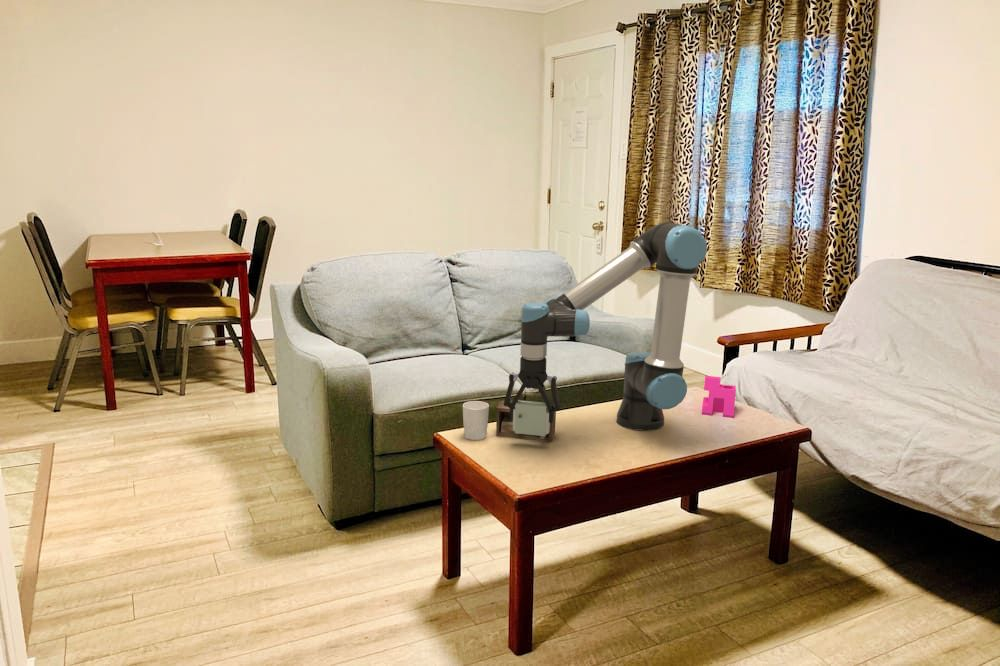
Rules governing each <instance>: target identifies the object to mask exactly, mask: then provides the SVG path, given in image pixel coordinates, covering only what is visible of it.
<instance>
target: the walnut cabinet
mask: <svg viewBox="0 0 1000 666" xmlns="http://www.w3.org/2000/svg"><path fill="white" fill-rule="evenodd" d="M504 401H505V400H501V401H500V403H499V404H498V405H497V407H496V421H495V422H496V426H495V427H496V428H495V429H496V430H495V435H496V437H503V438H513V439H514V438H515V439H523V440H524V439H525V440H535V441H542V442H543V441H544V442H552V441H553V439H554V437H555V434H556V423H557V422H556V418H557V417H556V416H557V411H555V412H554V420H553V422H552V423H550V431H549V433H548V434H546V436H538V435H528V434H518V433H515V431H513V419H510V408H509V407H507V406H504ZM510 402H512V401H511V400H510ZM553 406H554V404H553ZM515 407H516V405H515Z"/></svg>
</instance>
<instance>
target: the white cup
mask: <svg viewBox="0 0 1000 666" xmlns="http://www.w3.org/2000/svg"><path fill="white" fill-rule="evenodd" d="M489 408H490V405H489V403H487V402H485V401H480V400H472V401H471V400H470V401H465V402H464V403H463V404H462V420H463V432H464V433H463V436H464V438H465V439H467V440H470V441H481V440H484V439H486V438H487V435H488V426H489V424H488V423H489V411H490V409H489Z"/></svg>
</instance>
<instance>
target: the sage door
mask: <svg viewBox="0 0 1000 666" xmlns="http://www.w3.org/2000/svg"><path fill="white" fill-rule="evenodd" d="M547 410H548V408H547V406H546V404H545V402H544V401H541V402H540V401H531V400H520V399H519V400H518V401H517V403H516V410H515V433H518V434H528V435H538V436H546V412H547Z"/></svg>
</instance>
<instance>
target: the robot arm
mask: <svg viewBox="0 0 1000 666" xmlns="http://www.w3.org/2000/svg"><path fill="white" fill-rule="evenodd" d="M707 249H708V247H707V241H706V238H705V237H704V235H703V234H702V232H700V231H699V230H698V229H696V228H694V227H692V226H690V225H686V224H681V223H676V222H670V221H667V222H661V223H658V224H656V225H654V226H652V227H650V228H649V229H647V230H646V231H644V232H643V233H642V234H640V235H639V236H637V237H636V238H635V239H633V240H632V241H630V244H629V247H627V248H626V249H625V250H623V251H622V252H621V253H619V254H618V255H616V256H615V257H614V258H612V259H611V260H609V261H608V262H606V263H604V265H602V266H601V267H599V268H598V269H596V270H595V271H593V272H592V273H591V274H589V275H588V276H587V277H585V278H584V279H583V280H581V281H579V282H578V283H576V285H574V286H573V287H570V289H568V290H566V292H564V293H562V294H561V295H559V296H557V297H556V298H550V299H546V300H545V301H544V302H537V301H536V302H527V303H525V304H523V305H522V309H521V318H520V321H521V322H520V323H521V324H520V325H521V326H520V331H521V332H520V334H521V335H520V339H521V340H520V356H521V357H520V358H519V359H520V361H519V364H520V365H519V373H514V372H511V373H510V374H509V375H508V380H509V381H508V382H509V383H508V385H507V386H508V387H507V391H506V394H505V399H504V400H503V401H504V406H507V407H509V408H510V419H513V431H515V410H516V407H515V405H516V403H517V401H518V400H520V398H521V396H522V394H523V393H524V391H525V389H533V390H538V392H539V393H540V395H541V397H542V399H543V403H545V404H546V406H547V408H548V410H547V412H546V434H548V433H549V431H550V423H552V422H553V420H554V412H555V411H556V412H559V411H560V409H561V401H560V398H559V397H560V396H559V392H558V389H557V388H558V386H557V379H558V377H557V376H556V375H554V376H550V375H548V373H547V358H546V357H547V354H548V353H547V352H548V338H549V337H580V336H586V335H587V334H588V333H589V331H590V324H591V323H590V322H591V320H590V315H589V313H588V311H587V310H586V308H588V307H590V306H591V305H592V304H594V303H595V302H597V301H598V300H599V299H600V298H602V297H603V296H605V295H606V294H608V293H609V292H611V291H612V290H613V289H614V290H615V288H616V287H618V286H620V284H622V283H624V282H625V281H626V280H628V279H629V278H631V277H632V276H634V275H635V274H636V273H638V272H640V271H641V270H642V269H644V268H647V269H649V268H650V267H652V266H654V265H655V264H656V267H655V270H656V272H658V274H659V276H660V277H659V284H658V293H657V299H656V300H657V301H656V309H655V316H654V324H653V332H652V337H651V338H652V340H651V345H650V346H651V348H650V352H647V351H646V352H645V351H642V352H641V351H640V352H630V353H628V354H627V355H626V357H625V362H624V375H623V376H624V377H623V378H624V379H623V381H624V382H623V397H622V400H621V402H620V406H619V408H618V411H617V413H616V420H615V421H616V423H617V424H618V425H619V426H621V427H624V428H626V429H629V430H634V431H635V430H636V431H655V430H658V429H659V430H660V429H662V428H663V427H664V426H665V415H664V411H663V410H670V409H674V408H676V407H677V406H678V405H679V404H681V403H682V402H683V401H684V399H685V398H686V395H687V392H688V385H687V382H686V379H685V378H684V377H683V373H684V366H685V365H684V363H683V361H682V360H681V358H680V357H681V350H682V344H683V343H682V342H683V335H684V328H685V321H686V315H687V306H688V299H689V291H690V285H691V279H692V278H693V277H695V276H696V275H697V274H698V273H697V272H698V268H699V267H698V266H699V265H700V264H701V263H702V262H704V260H705V258H706V254H707ZM518 379H519V381H520V382H521V383H522V384H521V386H520V388H519V390H518V391H517V393H516V395H515V397H514V398H513V400H512V401H511V397H512V394H513V390H514V387H515V383H516V382H517V380H518ZM547 381H548V384H549V385H550V391H551V397H552V400H553V402H552V400H551V398H550V396H549V394H548V391H547V390H546V386H545V384H544V383H546V382H547ZM510 401H511V402H510ZM553 405H554V406H553Z"/></svg>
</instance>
